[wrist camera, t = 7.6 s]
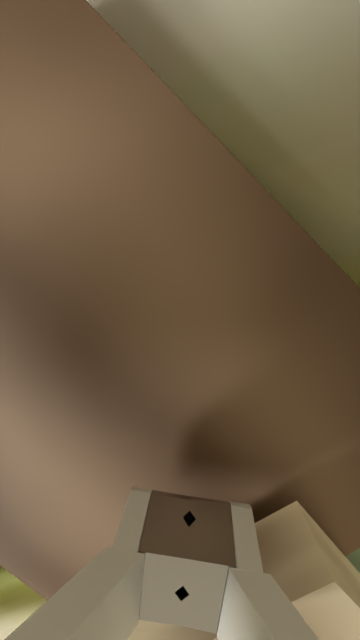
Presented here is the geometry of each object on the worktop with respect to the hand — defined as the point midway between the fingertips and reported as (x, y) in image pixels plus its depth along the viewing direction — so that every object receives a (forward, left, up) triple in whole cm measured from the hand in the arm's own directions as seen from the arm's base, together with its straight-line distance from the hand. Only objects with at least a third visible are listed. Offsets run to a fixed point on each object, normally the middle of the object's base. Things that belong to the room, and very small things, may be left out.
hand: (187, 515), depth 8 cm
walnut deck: (0, +3, -3) cm, 4 cm away
